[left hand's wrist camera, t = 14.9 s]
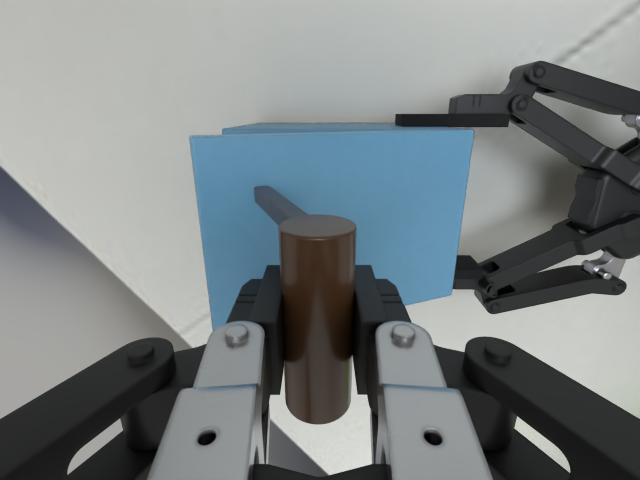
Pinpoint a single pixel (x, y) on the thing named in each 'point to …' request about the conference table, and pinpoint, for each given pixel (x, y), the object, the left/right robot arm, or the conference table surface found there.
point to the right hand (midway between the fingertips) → (393, 198)
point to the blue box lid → (328, 234)
